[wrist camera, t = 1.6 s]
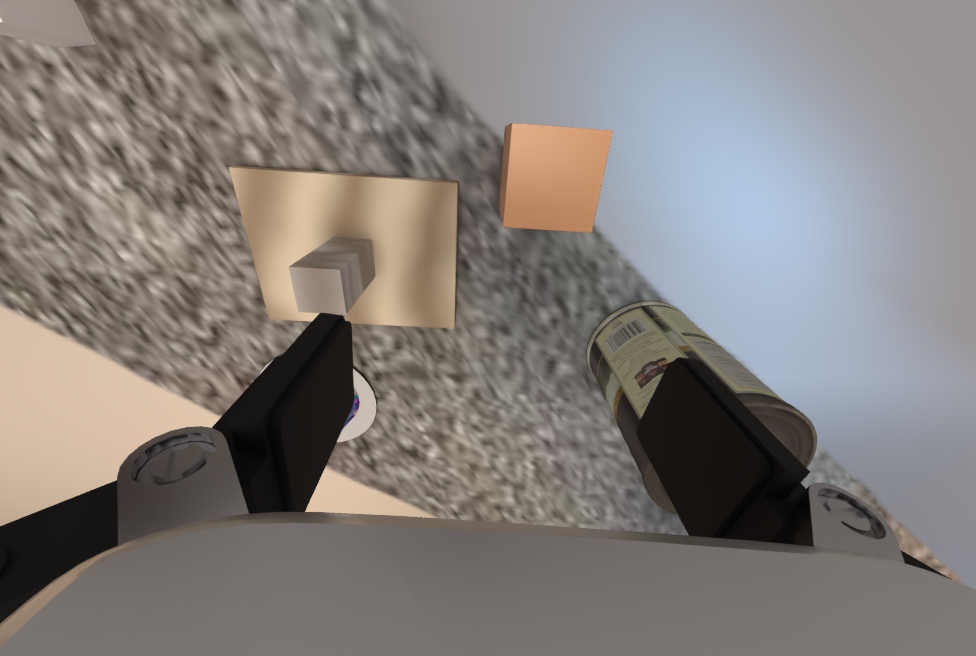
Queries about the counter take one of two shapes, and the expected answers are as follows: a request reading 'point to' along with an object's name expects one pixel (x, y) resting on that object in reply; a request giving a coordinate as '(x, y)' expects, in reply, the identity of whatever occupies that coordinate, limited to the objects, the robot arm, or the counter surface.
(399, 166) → the counter surface
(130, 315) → the counter surface
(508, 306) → the counter surface
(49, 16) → the white stepped block
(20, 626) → the robot arm
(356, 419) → the pudding
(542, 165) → the orange block
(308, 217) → the post stand
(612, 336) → the coffee can
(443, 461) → the counter surface
